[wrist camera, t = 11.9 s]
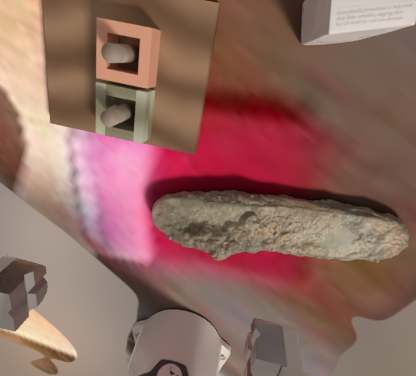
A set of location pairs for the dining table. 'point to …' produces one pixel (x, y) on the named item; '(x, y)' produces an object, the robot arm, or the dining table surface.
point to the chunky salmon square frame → (147, 53)
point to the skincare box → (353, 19)
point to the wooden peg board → (131, 69)
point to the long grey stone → (277, 226)
